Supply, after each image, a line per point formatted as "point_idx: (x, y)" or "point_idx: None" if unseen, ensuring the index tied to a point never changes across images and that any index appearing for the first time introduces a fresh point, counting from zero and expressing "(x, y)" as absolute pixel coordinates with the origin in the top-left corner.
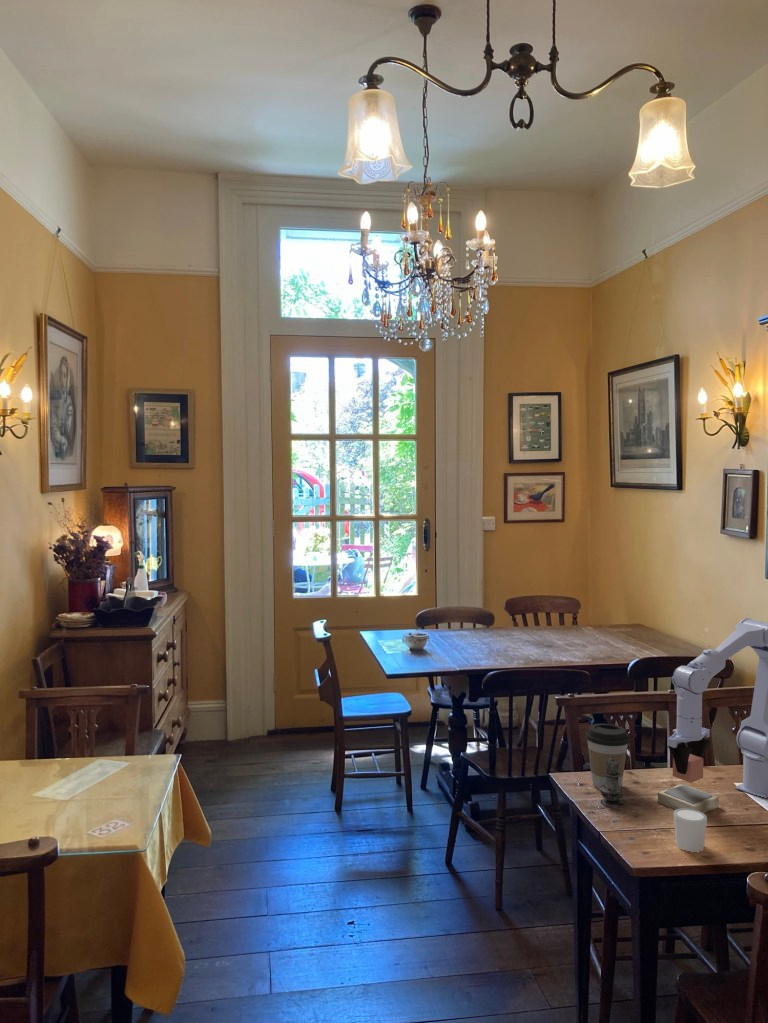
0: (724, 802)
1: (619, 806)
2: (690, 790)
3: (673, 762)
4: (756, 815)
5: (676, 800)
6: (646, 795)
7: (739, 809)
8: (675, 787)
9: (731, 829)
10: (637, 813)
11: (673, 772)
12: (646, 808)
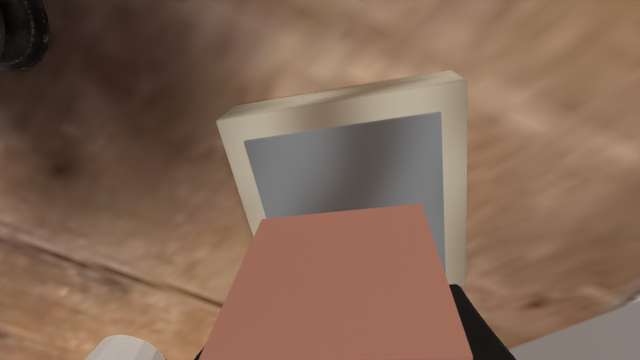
0: (528, 234)
1: (14, 70)
2: (403, 188)
3: (225, 308)
4: (507, 342)
5: (251, 221)
6: (235, 3)
7: (507, 295)
8: (369, 112)
9: None
10: (77, 154)
11: (255, 242)
12: (142, 133)
